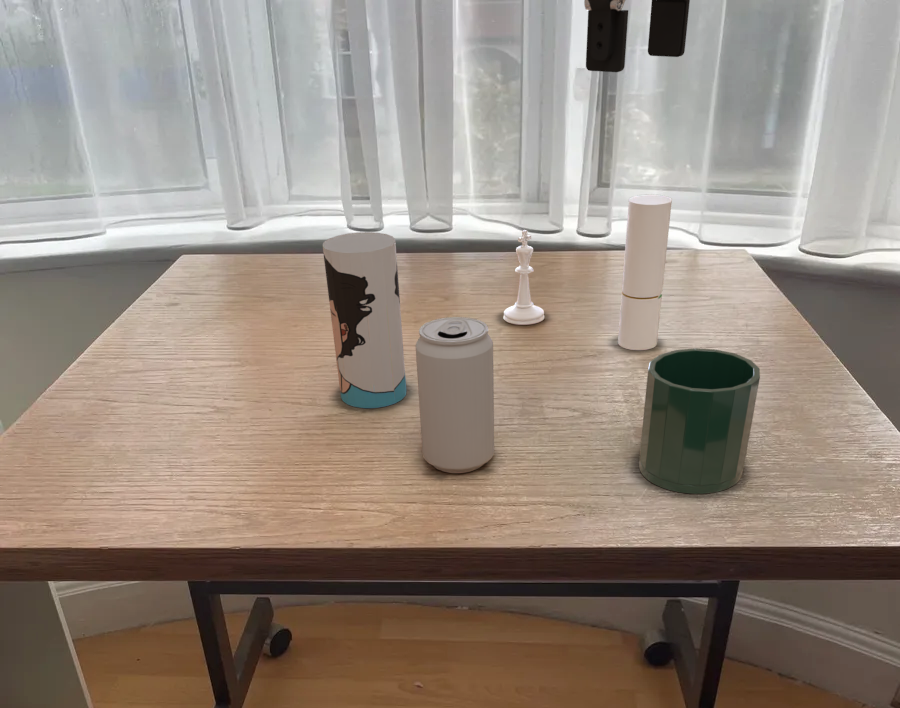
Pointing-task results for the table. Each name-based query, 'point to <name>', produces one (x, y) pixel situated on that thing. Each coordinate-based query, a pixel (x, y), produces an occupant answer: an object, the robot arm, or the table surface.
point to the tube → (643, 270)
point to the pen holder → (697, 419)
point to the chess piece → (524, 289)
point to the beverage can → (456, 393)
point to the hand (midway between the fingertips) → (636, 63)
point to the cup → (366, 318)
